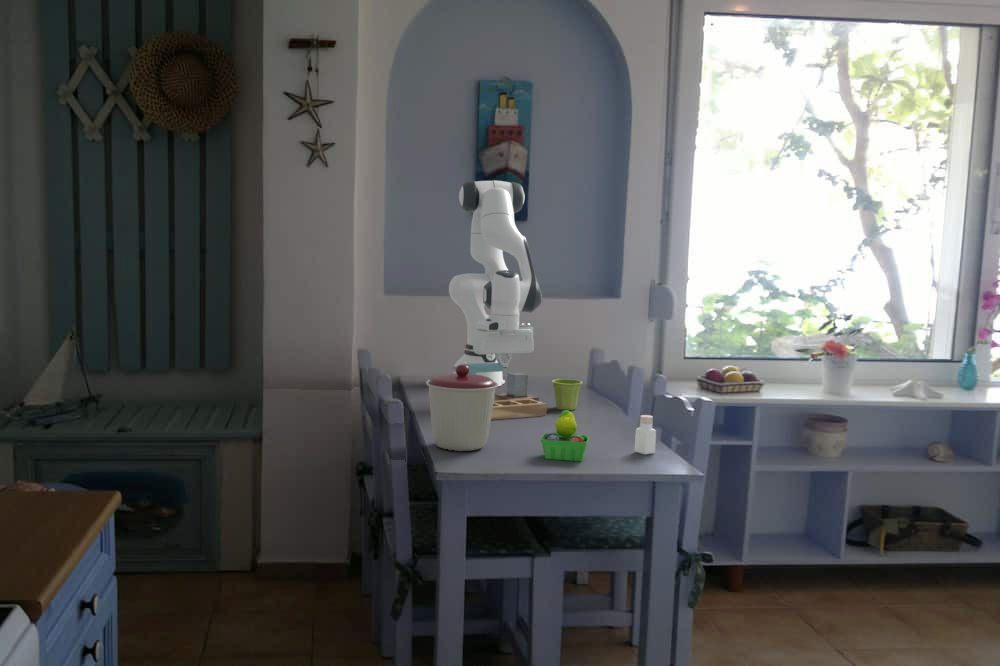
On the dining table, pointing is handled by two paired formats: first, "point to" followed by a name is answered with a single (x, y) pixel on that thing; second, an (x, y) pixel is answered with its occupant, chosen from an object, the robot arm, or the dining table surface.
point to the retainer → (484, 367)
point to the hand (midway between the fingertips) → (503, 367)
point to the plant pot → (566, 393)
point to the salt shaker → (645, 436)
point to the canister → (461, 409)
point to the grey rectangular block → (517, 385)
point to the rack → (517, 408)
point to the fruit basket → (564, 440)
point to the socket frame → (505, 397)
